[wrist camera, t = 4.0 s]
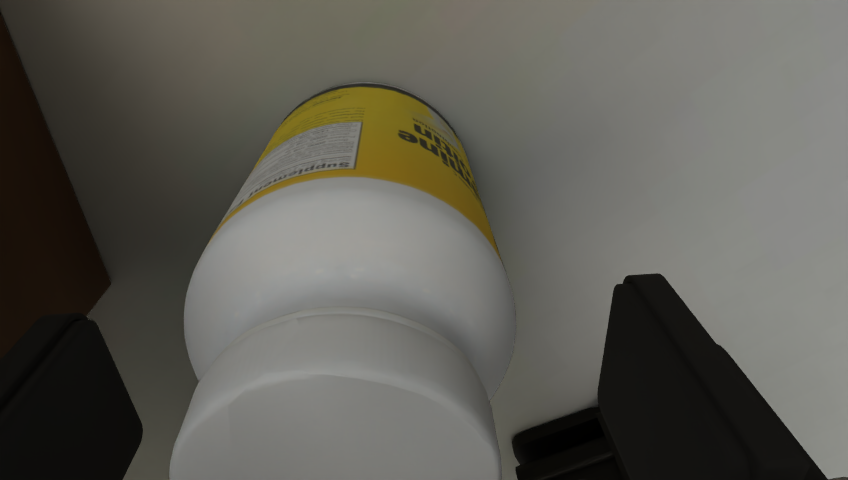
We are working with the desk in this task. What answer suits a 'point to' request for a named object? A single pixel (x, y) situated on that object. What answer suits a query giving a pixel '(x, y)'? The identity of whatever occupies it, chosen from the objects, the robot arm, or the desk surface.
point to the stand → (37, 216)
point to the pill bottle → (349, 306)
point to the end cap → (569, 450)
